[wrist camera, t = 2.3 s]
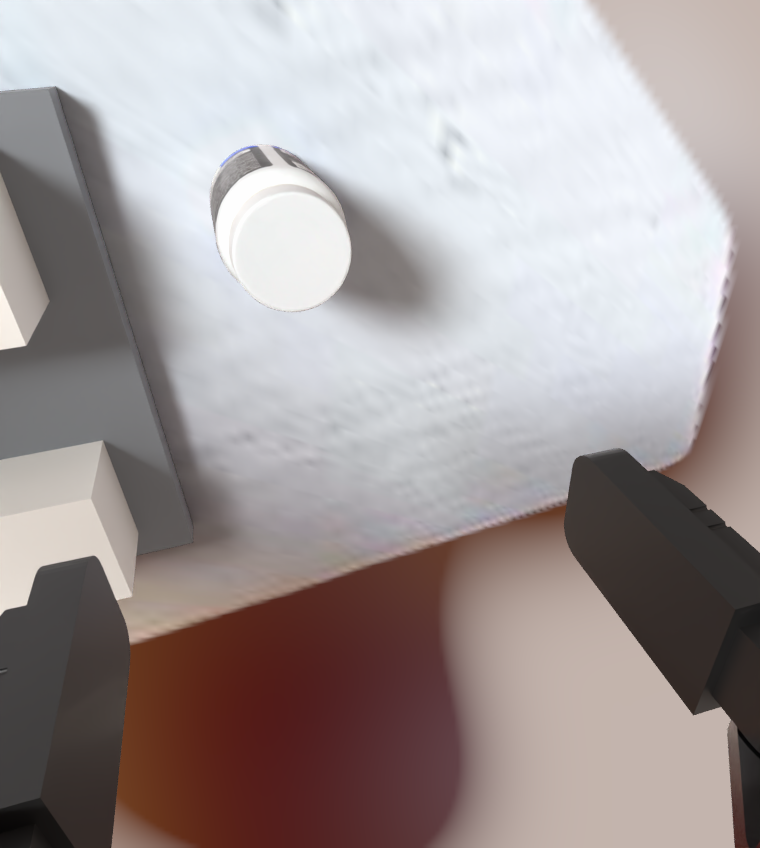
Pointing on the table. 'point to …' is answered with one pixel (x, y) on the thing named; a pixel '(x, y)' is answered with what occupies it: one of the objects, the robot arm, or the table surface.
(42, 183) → the rail board
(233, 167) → the pill bottle
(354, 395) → the table surface
